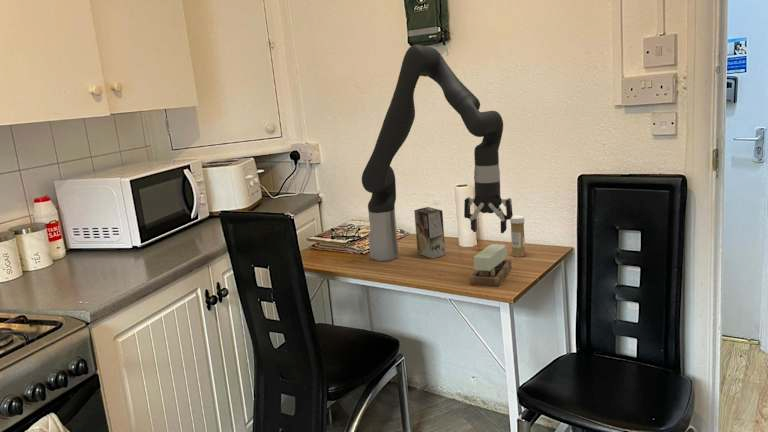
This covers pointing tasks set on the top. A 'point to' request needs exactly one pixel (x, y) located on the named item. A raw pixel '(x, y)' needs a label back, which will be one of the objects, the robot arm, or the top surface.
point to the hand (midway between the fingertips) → (488, 232)
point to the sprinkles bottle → (517, 236)
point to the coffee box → (430, 232)
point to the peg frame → (479, 278)
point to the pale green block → (490, 257)
